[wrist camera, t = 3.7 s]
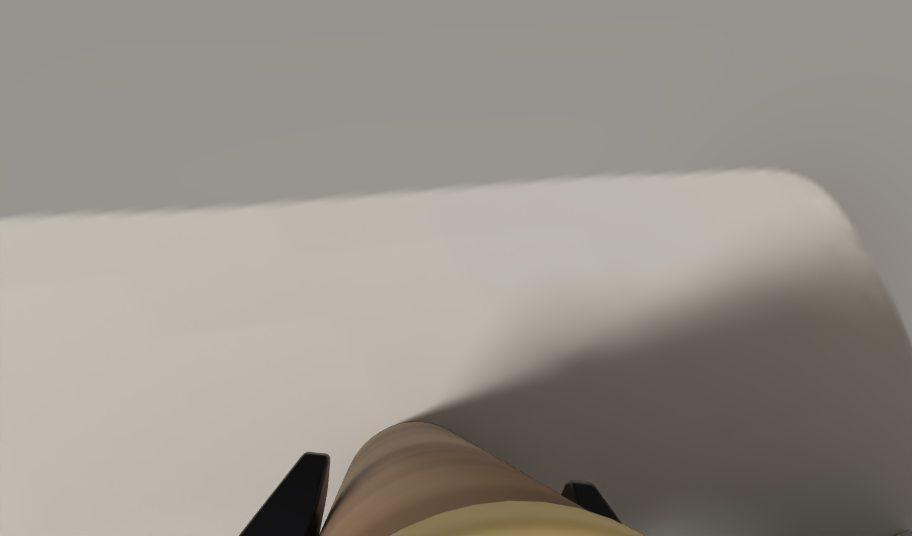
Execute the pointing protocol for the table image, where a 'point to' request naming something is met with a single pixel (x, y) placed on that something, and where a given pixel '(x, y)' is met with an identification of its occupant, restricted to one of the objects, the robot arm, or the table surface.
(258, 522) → the robot arm
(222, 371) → the table surface
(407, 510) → the peg
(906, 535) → the socket block
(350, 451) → the table surface
